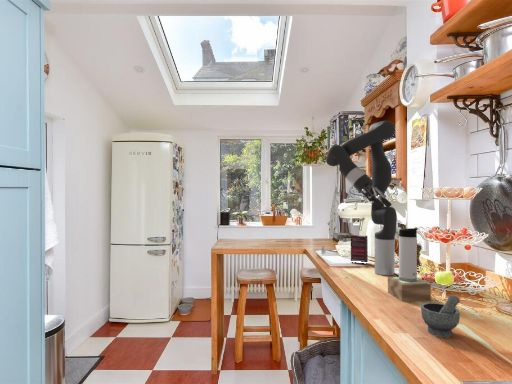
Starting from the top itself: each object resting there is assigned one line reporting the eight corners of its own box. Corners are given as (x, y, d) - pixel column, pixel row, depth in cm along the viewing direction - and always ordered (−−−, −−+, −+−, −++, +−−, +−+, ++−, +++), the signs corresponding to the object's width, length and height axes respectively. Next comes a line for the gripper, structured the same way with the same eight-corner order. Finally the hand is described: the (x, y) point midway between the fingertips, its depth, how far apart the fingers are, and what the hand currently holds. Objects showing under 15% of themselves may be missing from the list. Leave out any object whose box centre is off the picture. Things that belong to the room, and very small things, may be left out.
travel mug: (419, 282, 123) (419, 228, 124) (400, 281, 125) (401, 228, 125) (415, 278, 130) (415, 227, 130) (397, 277, 131) (397, 226, 131)
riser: (387, 292, 132) (387, 276, 132) (414, 291, 133) (414, 276, 133) (402, 301, 121) (402, 284, 121) (430, 300, 122) (430, 283, 122)
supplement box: (367, 263, 188) (368, 235, 188) (365, 264, 184) (365, 236, 184) (352, 261, 193) (352, 234, 193) (350, 263, 189) (350, 235, 189)
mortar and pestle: (413, 327, 97) (413, 286, 97) (440, 324, 99) (440, 284, 99) (442, 344, 86) (442, 298, 86) (472, 340, 88) (472, 295, 88)
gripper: (358, 173, 137) (386, 201, 130) (371, 174, 148) (398, 199, 141) (346, 186, 141) (373, 214, 133) (360, 186, 152) (386, 211, 144)
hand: (386, 206), depth 137 cm, fingers open, 8 cm apart
